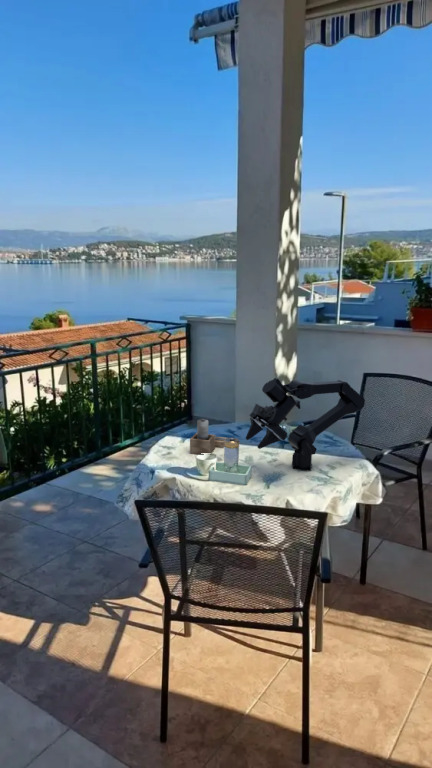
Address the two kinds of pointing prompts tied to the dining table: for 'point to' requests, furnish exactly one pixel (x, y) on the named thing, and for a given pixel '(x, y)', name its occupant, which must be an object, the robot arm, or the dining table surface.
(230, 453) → the cell
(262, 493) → the dining table surface
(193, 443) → the bin
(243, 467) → the trough
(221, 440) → the wooden switch box
